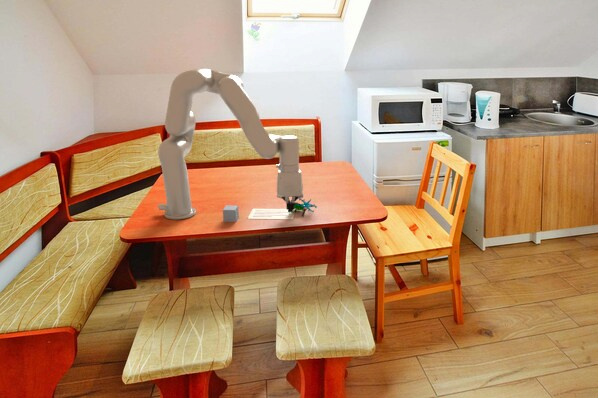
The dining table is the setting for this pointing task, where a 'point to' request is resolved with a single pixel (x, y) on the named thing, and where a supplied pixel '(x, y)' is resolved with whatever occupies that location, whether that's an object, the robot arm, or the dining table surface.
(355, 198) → the dining table surface
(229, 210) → the cube
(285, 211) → the letter
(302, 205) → the stick construction toy
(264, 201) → the dining table surface
